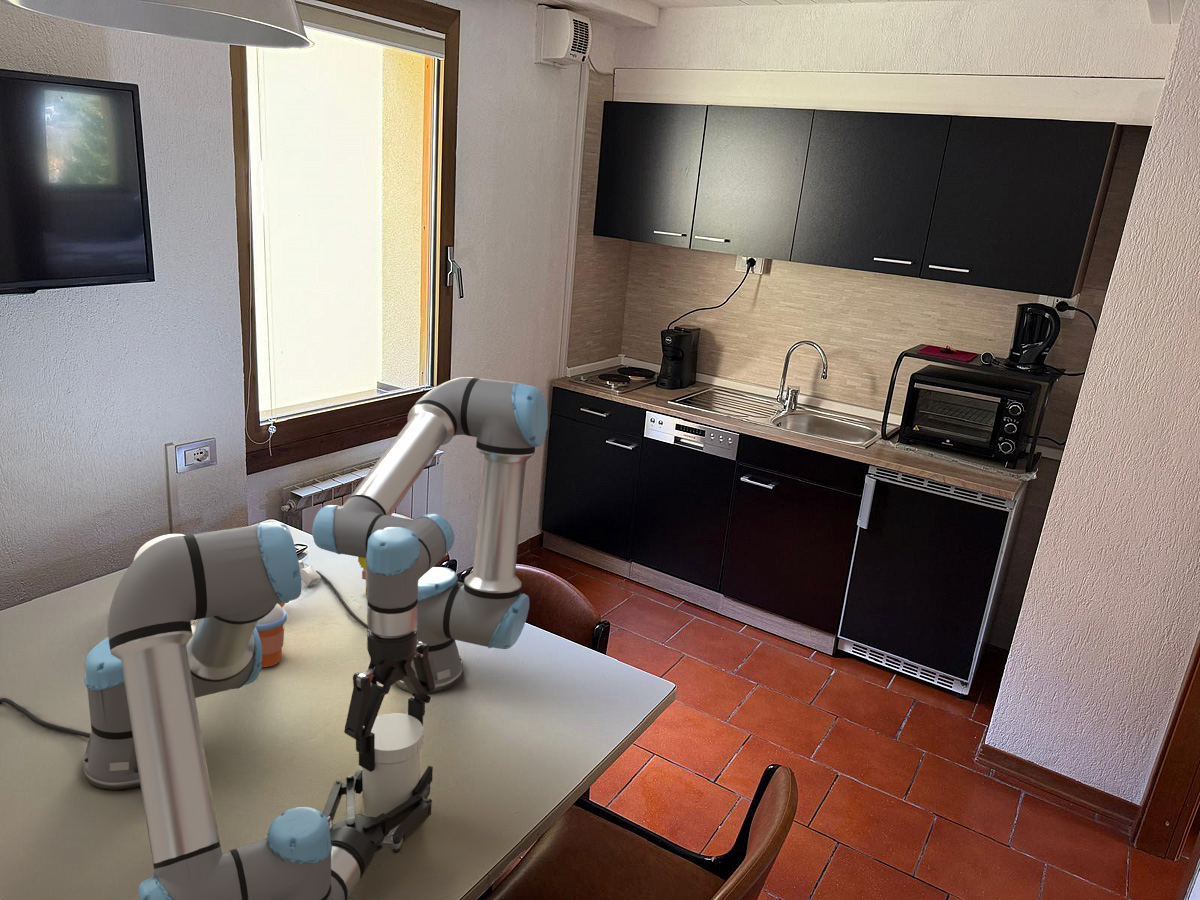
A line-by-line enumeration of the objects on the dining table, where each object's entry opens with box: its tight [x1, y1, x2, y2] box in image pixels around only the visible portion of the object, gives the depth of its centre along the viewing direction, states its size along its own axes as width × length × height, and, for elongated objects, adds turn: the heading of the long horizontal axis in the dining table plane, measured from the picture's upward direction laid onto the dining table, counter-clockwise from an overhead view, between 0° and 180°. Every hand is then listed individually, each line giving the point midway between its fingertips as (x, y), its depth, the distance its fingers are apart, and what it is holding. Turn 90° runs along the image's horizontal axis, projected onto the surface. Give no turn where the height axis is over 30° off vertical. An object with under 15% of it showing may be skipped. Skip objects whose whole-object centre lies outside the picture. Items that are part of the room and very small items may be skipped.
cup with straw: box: [255, 603, 288, 668], centre depth 180 cm, size 9×9×18 cm
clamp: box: [298, 559, 321, 587], centre depth 219 cm, size 20×4×7 cm, turn 62°
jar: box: [361, 748, 422, 837], centre depth 139 cm, size 9×9×16 cm
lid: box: [363, 712, 425, 764], centre depth 137 cm, size 10×10×2 cm
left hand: (402, 767), depth 144 cm, fingers closed on jar, 9 cm apart
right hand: (391, 750), depth 138 cm, fingers closed on lid, 10 cm apart
